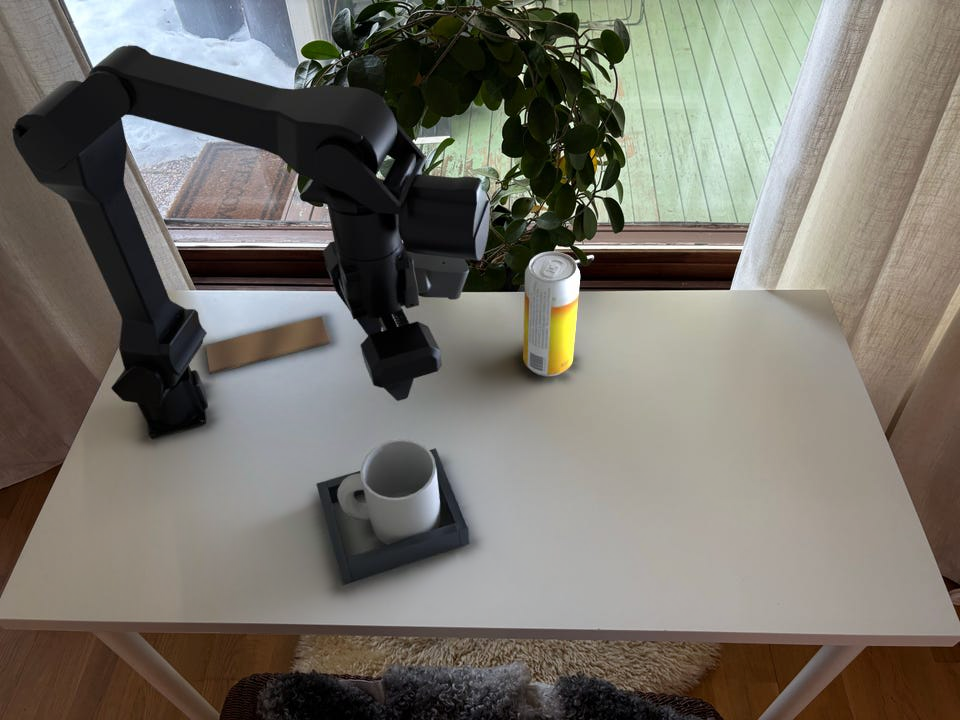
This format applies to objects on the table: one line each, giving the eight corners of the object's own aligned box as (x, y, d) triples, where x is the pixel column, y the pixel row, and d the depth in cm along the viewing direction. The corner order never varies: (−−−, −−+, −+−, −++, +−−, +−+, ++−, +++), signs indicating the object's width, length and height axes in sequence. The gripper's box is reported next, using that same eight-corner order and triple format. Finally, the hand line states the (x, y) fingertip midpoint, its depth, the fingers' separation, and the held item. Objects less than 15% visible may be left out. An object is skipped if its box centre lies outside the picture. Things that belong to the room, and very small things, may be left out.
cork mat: (210, 374, 97) (209, 371, 96) (206, 347, 100) (205, 344, 100) (330, 343, 100) (329, 340, 100) (322, 318, 103) (321, 315, 103)
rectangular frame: (343, 585, 76) (338, 569, 74) (321, 499, 83) (316, 483, 81) (469, 543, 79) (468, 527, 77) (437, 464, 86) (435, 447, 84)
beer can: (579, 352, 98) (588, 257, 87) (562, 385, 94) (569, 289, 83) (534, 339, 100) (537, 244, 89) (515, 370, 96) (516, 275, 85)
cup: (442, 549, 79) (436, 497, 72) (342, 555, 79) (328, 504, 72) (440, 489, 84) (435, 436, 78) (347, 495, 84) (334, 442, 77)
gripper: (495, 281, 63) (497, 408, 74) (423, 167, 76) (434, 290, 87) (362, 318, 61) (385, 444, 72) (309, 193, 73) (335, 317, 84)
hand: (388, 367), depth 79 cm, fingers open, 9 cm apart
